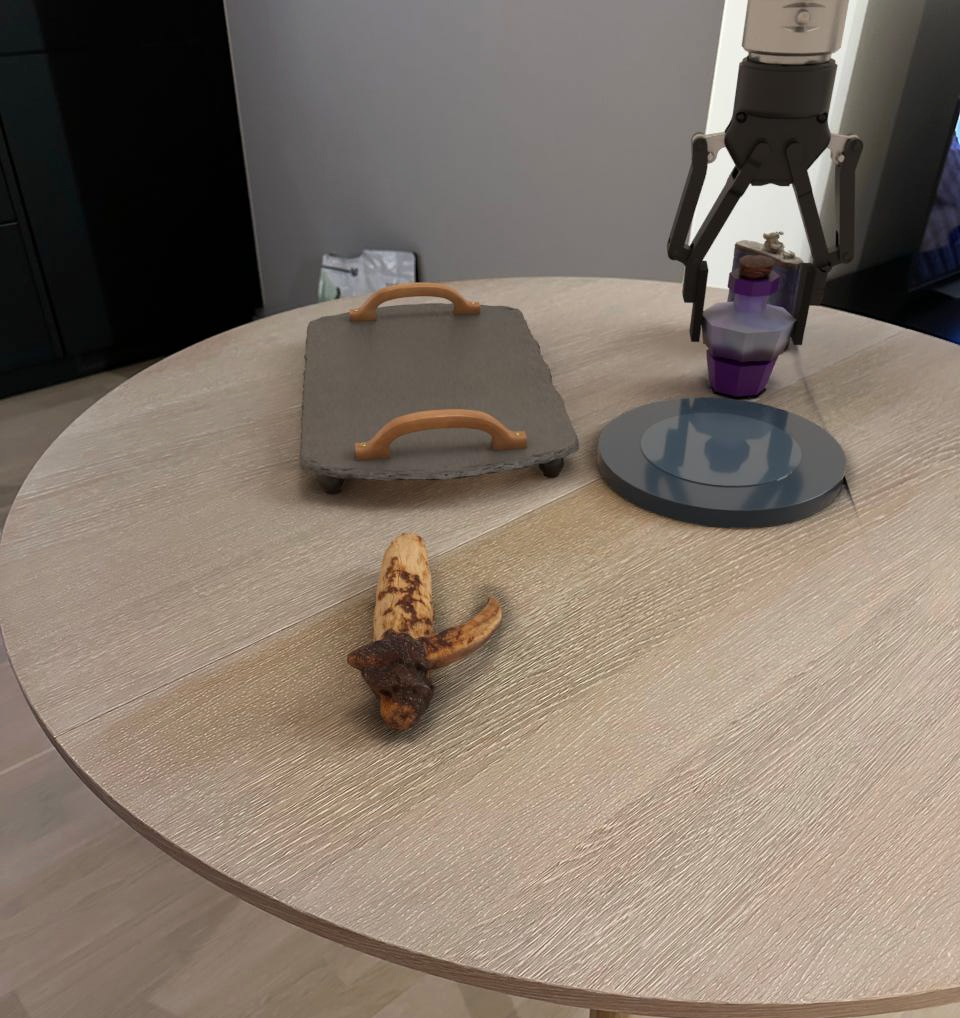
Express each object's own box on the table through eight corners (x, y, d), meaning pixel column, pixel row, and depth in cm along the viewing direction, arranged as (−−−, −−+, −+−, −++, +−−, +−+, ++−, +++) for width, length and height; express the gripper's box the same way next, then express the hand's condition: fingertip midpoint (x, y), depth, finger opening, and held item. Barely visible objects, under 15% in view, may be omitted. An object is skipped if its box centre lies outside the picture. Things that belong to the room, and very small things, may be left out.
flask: (717, 325, 105) (732, 222, 99) (738, 321, 106) (755, 218, 100) (775, 354, 99) (795, 246, 92) (797, 348, 100) (818, 241, 93)
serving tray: (309, 335, 105) (302, 278, 101) (518, 323, 107) (519, 265, 103) (300, 518, 75) (289, 445, 71) (592, 495, 77) (597, 423, 73)
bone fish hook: (508, 743, 55) (498, 563, 69) (512, 682, 52) (500, 507, 66) (346, 743, 55) (368, 562, 69) (340, 682, 52) (364, 506, 66)
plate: (821, 417, 87) (825, 399, 86) (863, 534, 71) (869, 515, 70) (599, 409, 89) (600, 392, 88) (593, 521, 74) (595, 502, 72)
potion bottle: (740, 363, 97) (759, 239, 90) (802, 393, 91) (828, 263, 84) (672, 381, 94) (687, 254, 86) (732, 414, 88) (753, 280, 80)
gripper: (653, 62, 74) (629, 349, 88) (943, 62, 71) (870, 357, 85) (651, 49, 79) (629, 320, 93) (919, 48, 77) (855, 326, 91)
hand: (744, 337), depth 89 cm, fingers closed on potion bottle, 8 cm apart
